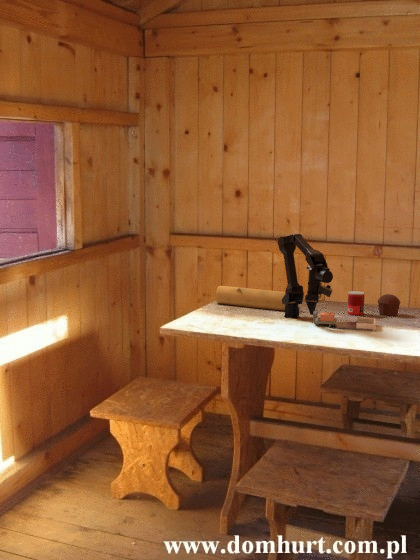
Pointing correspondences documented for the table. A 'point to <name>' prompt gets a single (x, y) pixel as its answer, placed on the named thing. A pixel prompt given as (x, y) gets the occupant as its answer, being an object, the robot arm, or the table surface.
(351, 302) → the canned food
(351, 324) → the dock
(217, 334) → the table surface
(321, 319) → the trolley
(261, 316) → the table surface
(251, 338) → the table surface
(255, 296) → the log
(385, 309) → the muffin
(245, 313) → the table surface
